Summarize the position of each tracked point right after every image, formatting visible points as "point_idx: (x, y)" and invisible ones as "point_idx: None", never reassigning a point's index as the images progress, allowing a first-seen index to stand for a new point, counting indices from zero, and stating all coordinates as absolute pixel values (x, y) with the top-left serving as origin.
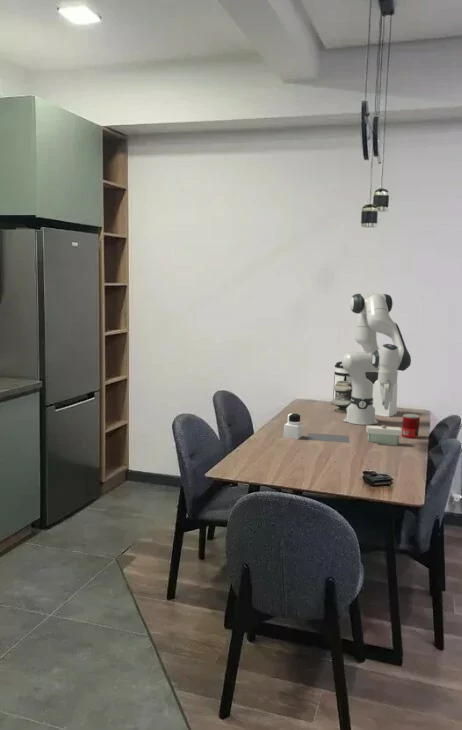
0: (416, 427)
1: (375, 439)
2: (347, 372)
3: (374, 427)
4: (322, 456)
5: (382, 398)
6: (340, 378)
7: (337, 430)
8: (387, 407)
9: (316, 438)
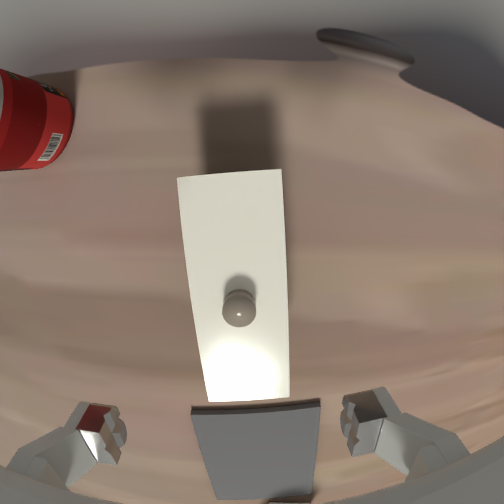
0: (36, 85)
1: None
2: None
3: (253, 362)
4: (466, 423)
5: (69, 485)
6: None
7: None
8: (392, 408)
9: (286, 483)
